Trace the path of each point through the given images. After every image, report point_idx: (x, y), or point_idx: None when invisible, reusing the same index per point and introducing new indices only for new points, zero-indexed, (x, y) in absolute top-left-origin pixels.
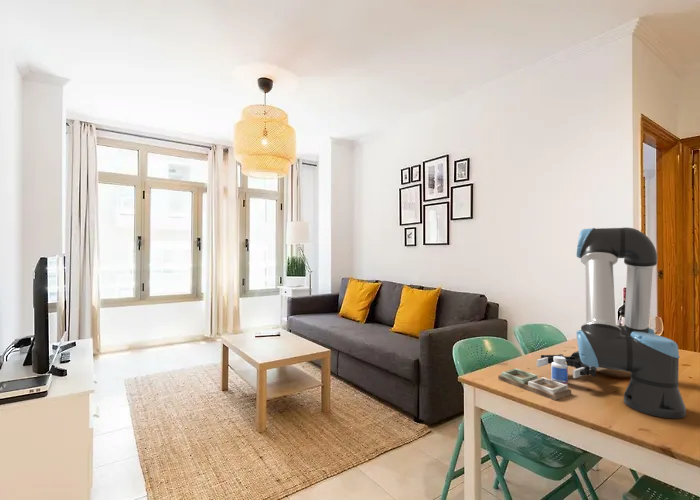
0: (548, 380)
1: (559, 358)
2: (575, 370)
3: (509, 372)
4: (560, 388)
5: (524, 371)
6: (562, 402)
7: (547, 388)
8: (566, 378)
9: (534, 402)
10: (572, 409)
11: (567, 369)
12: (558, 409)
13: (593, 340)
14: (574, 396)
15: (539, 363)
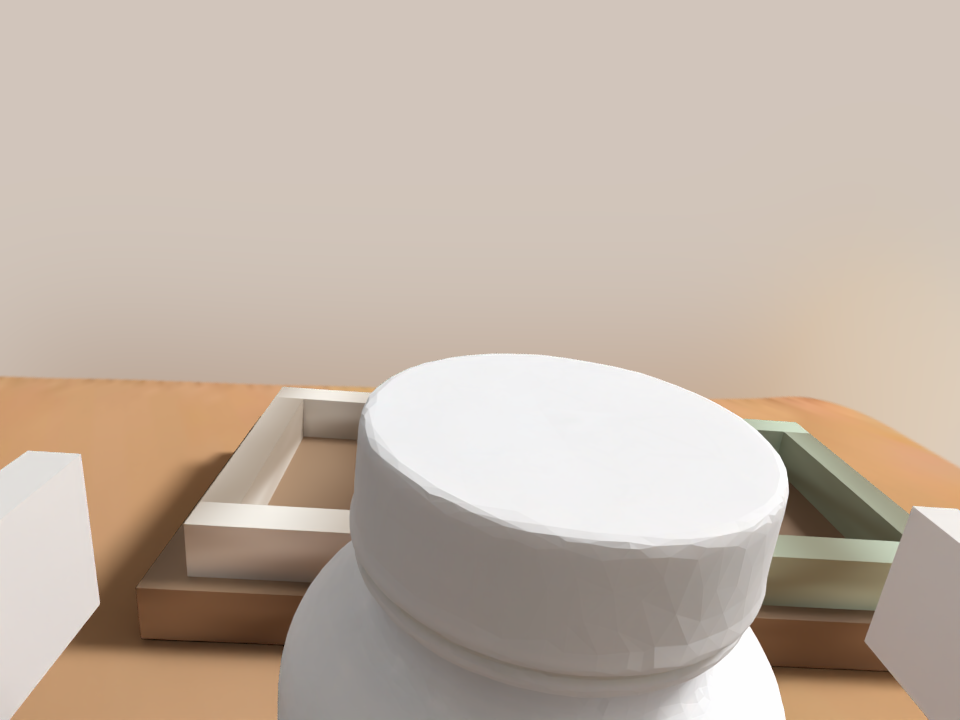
0: None
1: (483, 364)
2: (16, 461)
3: (817, 473)
4: (244, 447)
5: (822, 550)
6: (202, 456)
7: (334, 391)
8: None
9: (356, 387)
10: (117, 421)
11: None
12: (206, 391)
13: None
14: (98, 613)
15: (911, 602)
